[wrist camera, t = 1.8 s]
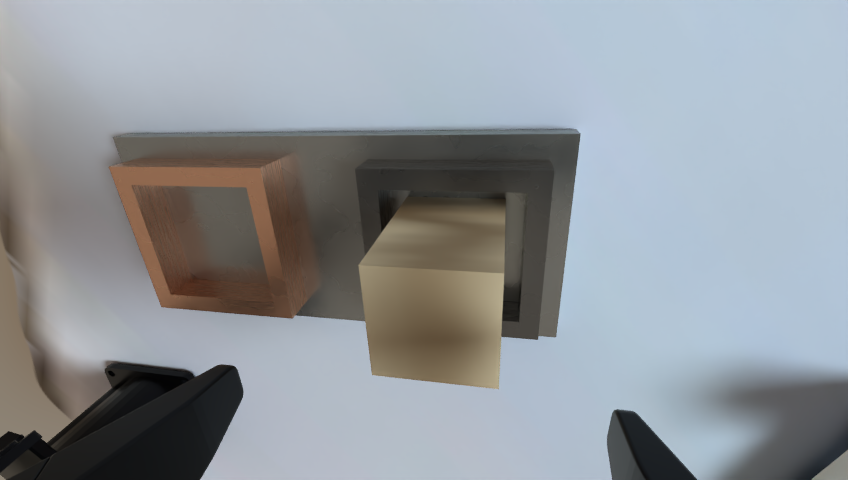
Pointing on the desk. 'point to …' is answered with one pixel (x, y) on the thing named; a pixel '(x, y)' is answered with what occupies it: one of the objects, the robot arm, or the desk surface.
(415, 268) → the wooden block
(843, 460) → the bracket
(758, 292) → the desk surface
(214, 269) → the base plate
